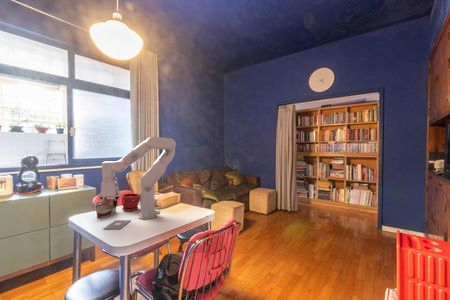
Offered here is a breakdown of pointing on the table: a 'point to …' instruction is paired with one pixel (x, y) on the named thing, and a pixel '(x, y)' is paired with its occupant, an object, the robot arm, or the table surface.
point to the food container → (102, 210)
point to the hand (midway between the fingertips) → (110, 205)
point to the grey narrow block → (113, 210)
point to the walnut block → (108, 203)
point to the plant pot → (130, 202)
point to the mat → (117, 224)
